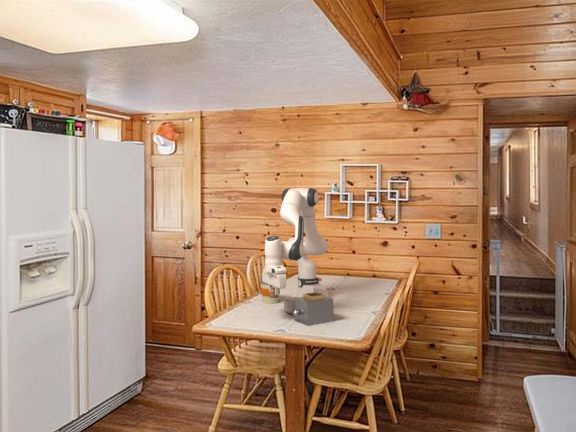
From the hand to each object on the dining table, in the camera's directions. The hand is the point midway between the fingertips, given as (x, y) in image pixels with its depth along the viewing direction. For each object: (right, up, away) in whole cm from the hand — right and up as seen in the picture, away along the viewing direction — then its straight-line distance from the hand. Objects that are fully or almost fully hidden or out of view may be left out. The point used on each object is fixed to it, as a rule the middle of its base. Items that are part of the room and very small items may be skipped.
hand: (273, 293), depth 271 cm
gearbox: (+20, -14, -1) cm, 24 cm away
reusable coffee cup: (-3, -12, +42) cm, 43 cm away
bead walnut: (0, -2, 0) cm, 2 cm away
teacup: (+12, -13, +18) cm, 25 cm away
